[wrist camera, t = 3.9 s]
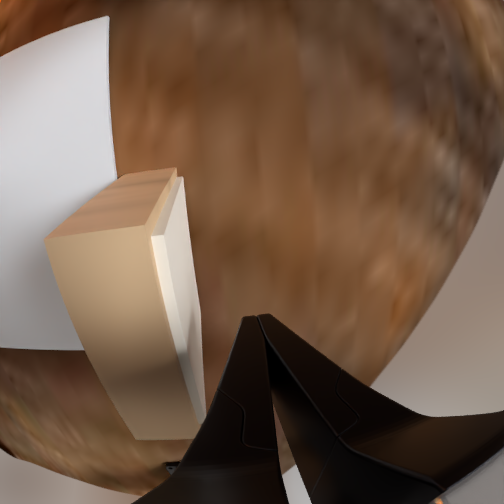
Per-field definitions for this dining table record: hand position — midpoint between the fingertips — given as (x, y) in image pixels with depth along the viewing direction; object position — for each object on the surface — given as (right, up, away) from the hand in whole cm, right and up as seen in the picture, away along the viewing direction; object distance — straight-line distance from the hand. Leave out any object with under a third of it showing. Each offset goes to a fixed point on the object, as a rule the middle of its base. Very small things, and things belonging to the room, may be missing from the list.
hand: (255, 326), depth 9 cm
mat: (-14, +4, +3) cm, 15 cm away
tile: (-5, +2, +5) cm, 7 cm away
